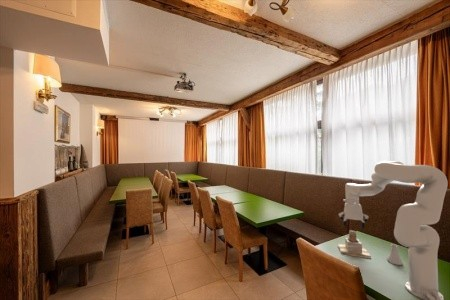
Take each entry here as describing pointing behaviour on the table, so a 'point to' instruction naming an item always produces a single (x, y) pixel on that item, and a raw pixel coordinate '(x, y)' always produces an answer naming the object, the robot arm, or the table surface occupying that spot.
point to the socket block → (353, 249)
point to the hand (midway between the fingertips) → (353, 227)
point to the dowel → (352, 236)
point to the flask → (394, 256)
